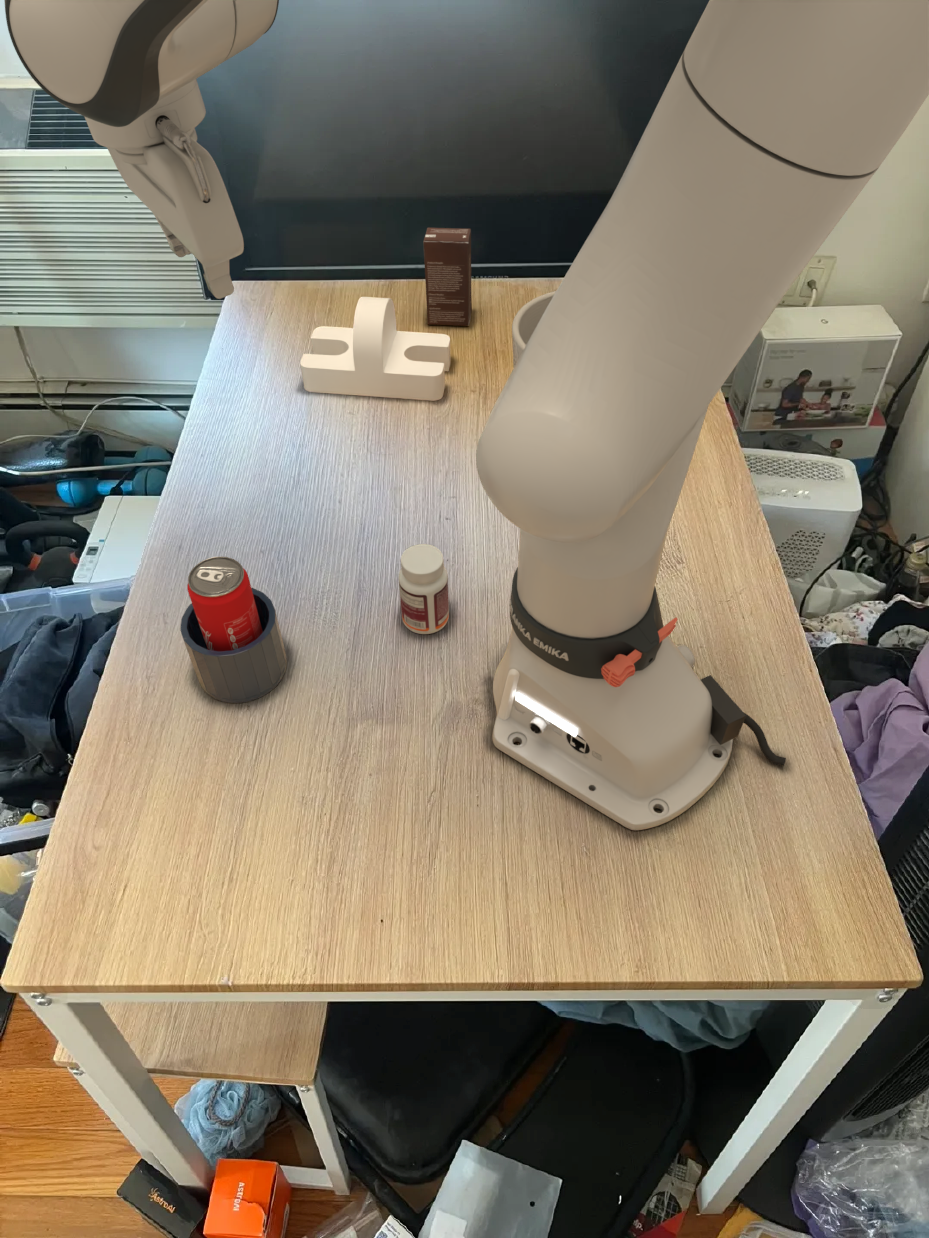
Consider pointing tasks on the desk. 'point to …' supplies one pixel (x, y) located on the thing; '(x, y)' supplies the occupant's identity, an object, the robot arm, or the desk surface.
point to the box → (448, 276)
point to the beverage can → (224, 603)
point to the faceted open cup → (238, 658)
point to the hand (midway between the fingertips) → (202, 272)
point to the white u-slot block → (376, 357)
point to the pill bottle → (423, 589)
